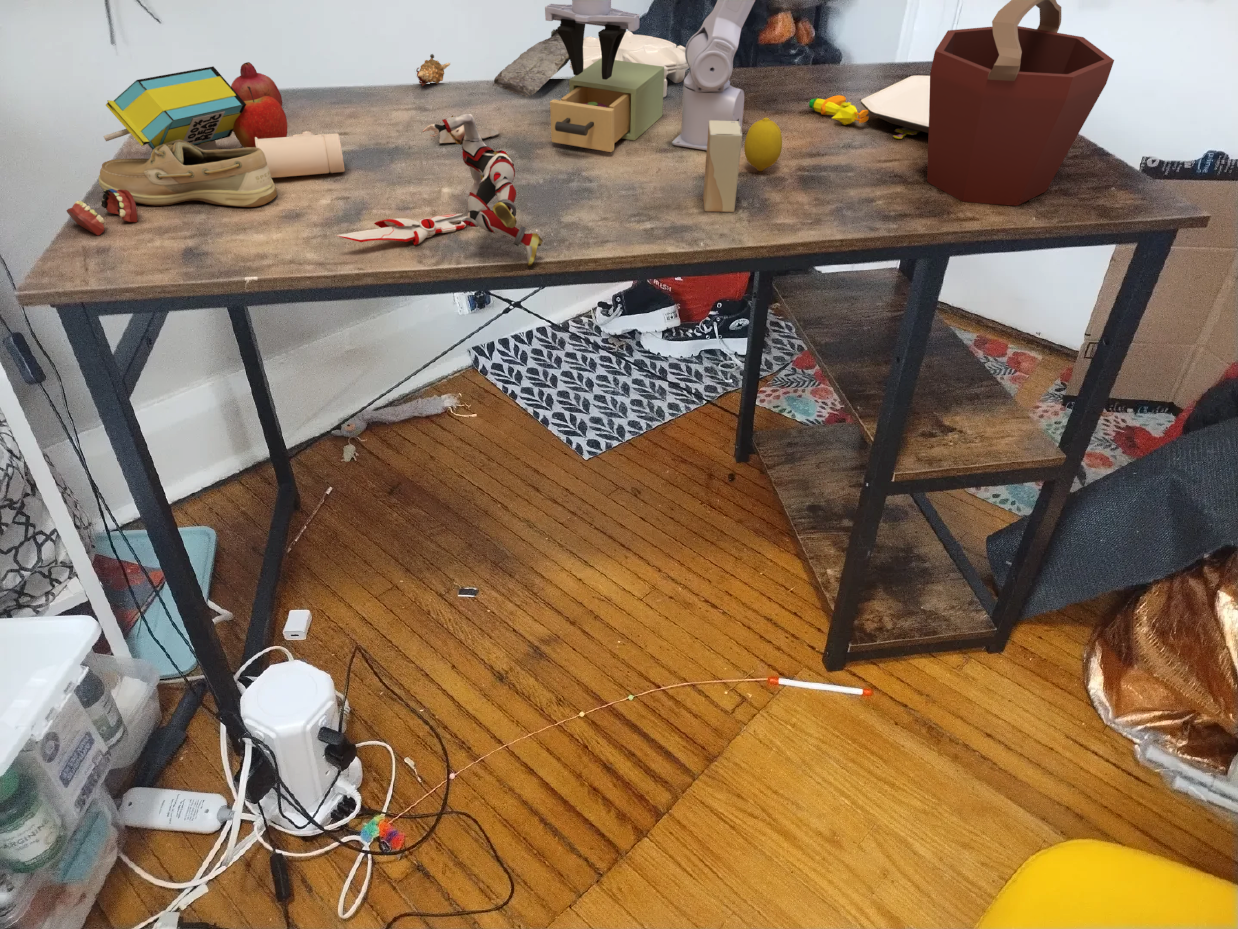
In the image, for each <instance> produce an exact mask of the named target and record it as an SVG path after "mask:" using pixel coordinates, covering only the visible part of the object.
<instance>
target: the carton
mask: <svg viewBox="0 0 1238 929" xmlns="http://www.w3.org/2000/svg"><path fill="white" fill-rule="evenodd" d="M105 106H106V107H107V109H108V110H109V111H110V112H111V113H112V115H113V116H114V117H115V118H116V119H117V120H118V121H119V122H120V123H121V124H122V125H123V126H124V129H121V130H118V131H115V132H114V131H113V132H111V133H109V134H106V135H103V138H104V140H105V142H109V141H112V140H115V139H118V138H121V137H124V136H127V135H131V136H132V137H133V138H134V139H135V140H136V141H137V143H138V144H139V145H140V146H141V147H144V146H145V145H148V146H149V147H150V149H151V150H152V151H153V150H154V149H155V148H156V147H158V146H160V145H162V144H165V143H167V142H170V141H175V140H183V141H186V142H188V143H191V144H193V145H195V146H196V145H200V144H203V143H207V142H211V141H218V140H222V139H226V138H231V135H232V134H233V133H234V132H233V126H234V123H235V121H236V119H237V118H238V116H239V115H240V114H241V113H242V112H243V110H244V108H245V106H246V103H245V102H244V101H243V100H242V99H241V98H240V96H239V95H238V94H237V93H236V92H235V91H234V90H233V88H232V87H231V84H229V82H228V81H227V80H226V79H225V78H224V77H223V75H221V73H220V72H219V71H218V70H217V69H216V68H215V66H208V67H201V68H195V69H189V70H185V71H180V72H179V71H178V72H174V73H167V74H163V75H157V76H150V77H145V78H140V79H136V80H135V81H134V82H133V83H131V85H129V86H128V87H127V88H125V90H123V91H122V92H121V93H120V94H119V95H118V96H117V97H116V98H115V99H114V100H107V102H106V104H105Z"/></svg>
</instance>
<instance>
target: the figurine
mask: <svg viewBox="0 0 1238 929" xmlns="http://www.w3.org/2000/svg"><path fill="white" fill-rule="evenodd" d="M429 57H430V59H424V63H422V64H421V65H420V67H416V68H415V69H416V71H415V69H414V71H415V72H416V75H415V76H416V78H417V79H418V85H419V84H420V85H421V86H420V87H423V86H426V85H427V84H431V83H435V84H437V85H438V84H439V83H440V82H442V81H444V75H445V70H446V69H447V68H448V67H450V65H451V62H446V63H444V64H441V63H440V61H439V60H435V55H434V53H430V55H429ZM423 88H425V87H423Z"/></svg>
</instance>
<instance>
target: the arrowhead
mask: <svg viewBox="0 0 1238 929" xmlns="http://www.w3.org/2000/svg"><path fill="white" fill-rule="evenodd" d="M476 128H477V130H478V133H479V135H480V137H481V139H487V138H489V137H495V136H498V135H499V132H500V130H499V129H494V128H492V129H491V128H480V127H476ZM450 143H456V142H455V140H454V141H453V138H452V137H451V135H450V134H449V133H448V132H447V131H446V129H445V130H443V131H441V132H440V133H439V140H438V144H450Z"/></svg>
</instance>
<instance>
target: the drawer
mask: <svg viewBox="0 0 1238 929" xmlns="http://www.w3.org/2000/svg"><path fill="white" fill-rule="evenodd" d="M589 102H596V103H601V104H604V105H606V106H607V108H606V107H599V106H593V105H586V104H585V103H589ZM549 112H550V135H551V136H550V138H551V143H555V144H560V145H561V144H562V145H568V146H572V147H573V146H574V147H579V148H585V149H592V150H597V151H601V152H602V151H603V152H610V153H613V151H614V150H615V143H617V142H618V141H619V140H621V139H622V138H621V137H622V136H623V135H625V134H626V133H627V132H628V131H629V130H630V129H631V94H630V93H623V92H616V91H610V90H603V89H596V88H589V87H583V86H578V87H577V88H576V89H574V90H573V91H571V92H570V93H569V92H568V93H567V94H566V95H564V96H563V97H561V98H560V99H554V98H553V99H552V100H550V101H549Z"/></svg>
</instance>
